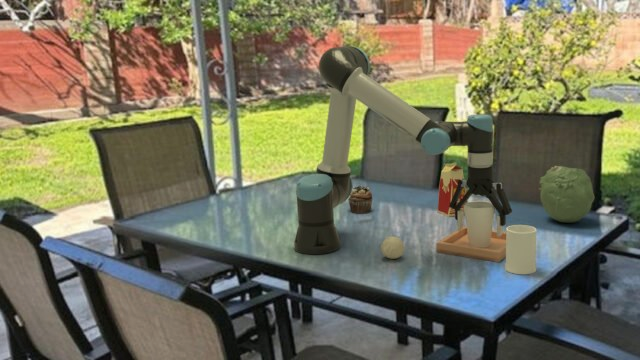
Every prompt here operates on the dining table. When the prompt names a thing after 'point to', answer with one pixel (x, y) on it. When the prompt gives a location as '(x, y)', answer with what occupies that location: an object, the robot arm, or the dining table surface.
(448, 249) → the tray
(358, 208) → the cupcake
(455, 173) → the milk carton
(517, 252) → the mug
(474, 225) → the foam cup
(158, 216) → the dining table surface
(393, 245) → the beige ball
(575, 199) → the cabbage
